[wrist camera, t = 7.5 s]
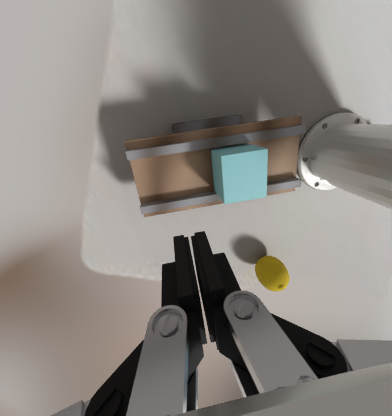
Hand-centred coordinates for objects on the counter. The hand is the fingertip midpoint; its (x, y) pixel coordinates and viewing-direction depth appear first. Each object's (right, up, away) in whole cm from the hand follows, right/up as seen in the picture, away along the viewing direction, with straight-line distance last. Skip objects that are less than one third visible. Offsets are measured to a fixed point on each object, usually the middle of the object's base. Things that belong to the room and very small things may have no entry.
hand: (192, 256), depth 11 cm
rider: (+5, +8, +16) cm, 18 cm away
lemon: (+14, -8, +31) cm, 35 cm away
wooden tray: (+2, +10, +21) cm, 24 cm away
